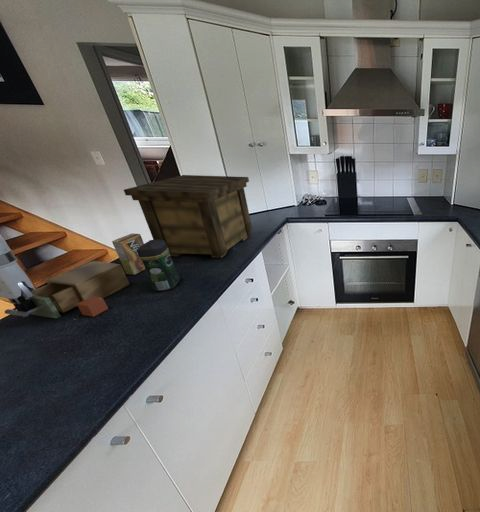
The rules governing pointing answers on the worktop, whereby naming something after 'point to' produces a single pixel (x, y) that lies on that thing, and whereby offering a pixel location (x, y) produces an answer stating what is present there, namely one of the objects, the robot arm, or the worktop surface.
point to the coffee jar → (158, 265)
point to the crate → (196, 212)
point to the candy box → (129, 253)
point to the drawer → (51, 301)
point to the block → (92, 306)
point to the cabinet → (94, 279)
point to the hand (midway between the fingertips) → (29, 311)
